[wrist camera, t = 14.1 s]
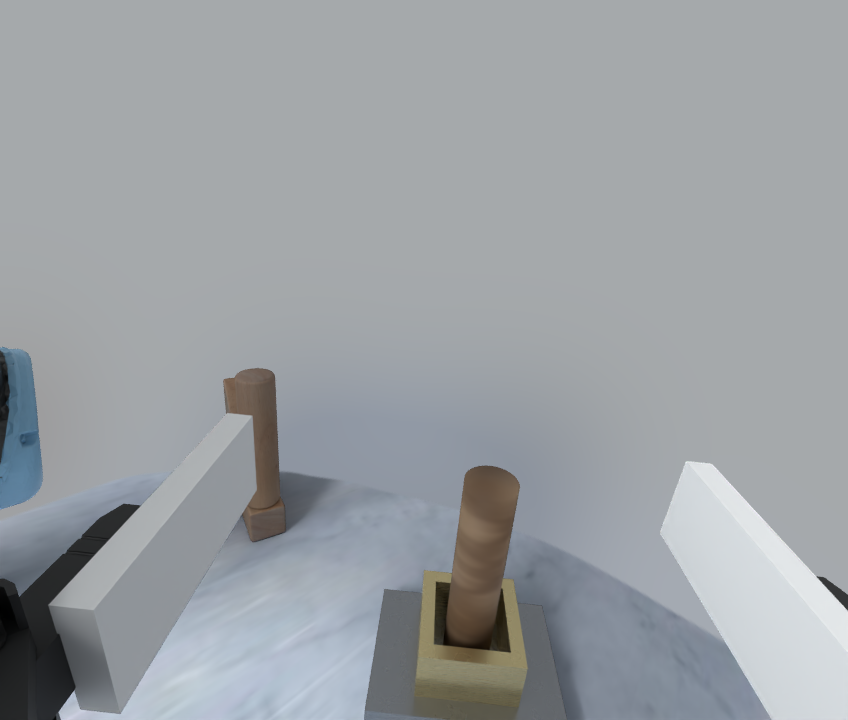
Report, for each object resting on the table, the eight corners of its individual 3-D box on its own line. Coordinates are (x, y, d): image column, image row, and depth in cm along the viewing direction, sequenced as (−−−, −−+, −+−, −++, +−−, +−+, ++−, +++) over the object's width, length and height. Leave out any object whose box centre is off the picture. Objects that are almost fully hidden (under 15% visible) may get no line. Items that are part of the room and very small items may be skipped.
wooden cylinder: (441, 672, 34) (465, 496, 28) (442, 628, 37) (463, 463, 31) (490, 678, 34) (523, 502, 28) (486, 633, 37) (515, 468, 31)
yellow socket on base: (363, 729, 32) (366, 670, 29) (383, 605, 41) (386, 554, 39) (564, 751, 31) (582, 694, 29) (538, 621, 41) (550, 571, 38)
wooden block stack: (262, 477, 57) (254, 342, 50) (286, 533, 48) (281, 379, 42) (231, 485, 55) (218, 346, 48) (250, 544, 46) (238, 385, 40)
